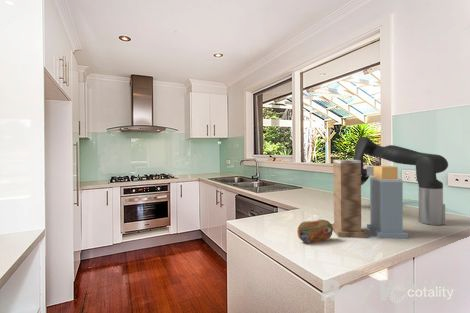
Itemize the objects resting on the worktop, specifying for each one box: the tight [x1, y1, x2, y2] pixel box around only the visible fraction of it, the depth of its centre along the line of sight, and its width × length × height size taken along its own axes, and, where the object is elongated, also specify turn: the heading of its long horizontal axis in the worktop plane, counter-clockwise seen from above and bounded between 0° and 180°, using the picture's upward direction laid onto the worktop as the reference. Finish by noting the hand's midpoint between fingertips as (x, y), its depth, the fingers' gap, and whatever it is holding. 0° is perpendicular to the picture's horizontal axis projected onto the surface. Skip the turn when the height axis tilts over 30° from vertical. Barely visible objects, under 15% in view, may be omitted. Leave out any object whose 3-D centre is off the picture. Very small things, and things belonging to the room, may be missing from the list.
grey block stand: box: [366, 176, 409, 240], centre depth 103 cm, size 11×12×24 cm
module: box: [366, 165, 399, 179], centre depth 109 cm, size 6×18×5 cm, turn 173°
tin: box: [297, 219, 334, 244], centre depth 97 cm, size 15×3×8 cm, turn 105°
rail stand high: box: [330, 159, 367, 239], centre depth 105 cm, size 11×12×32 cm
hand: (369, 165), depth 120 cm, fingers open, 8 cm apart
